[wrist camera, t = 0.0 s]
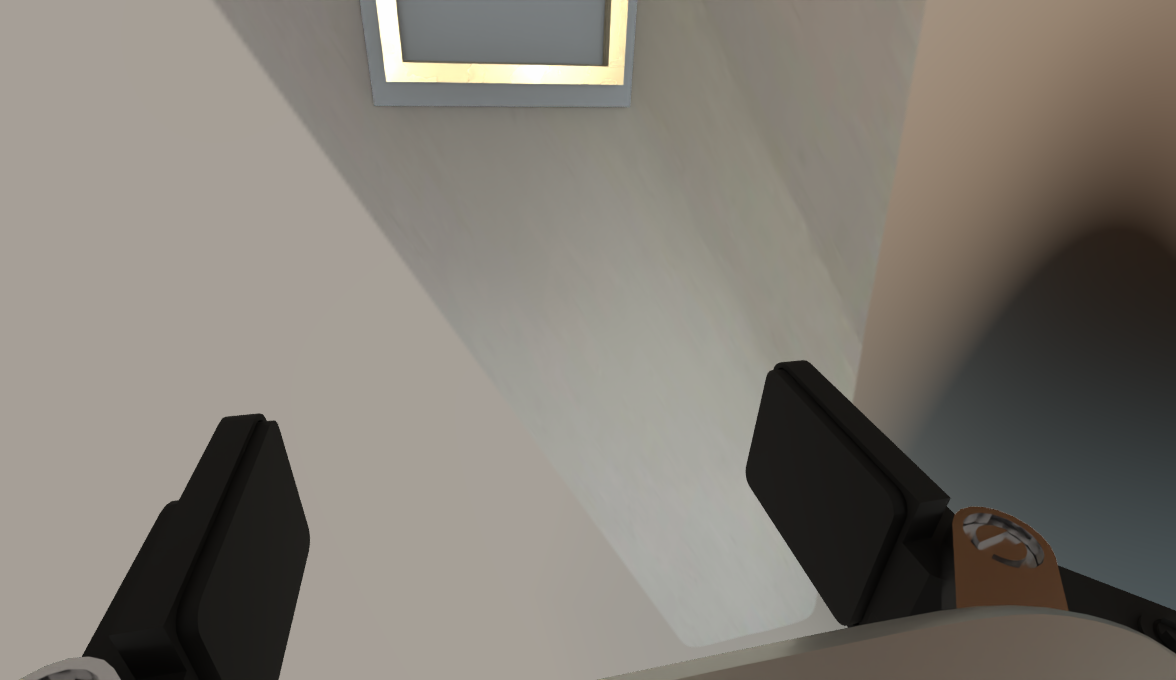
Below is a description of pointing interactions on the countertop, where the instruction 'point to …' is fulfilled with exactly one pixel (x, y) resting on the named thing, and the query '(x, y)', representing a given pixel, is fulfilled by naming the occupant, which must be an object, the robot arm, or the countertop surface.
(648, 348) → the countertop surface
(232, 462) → the robot arm
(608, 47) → the mount plate
